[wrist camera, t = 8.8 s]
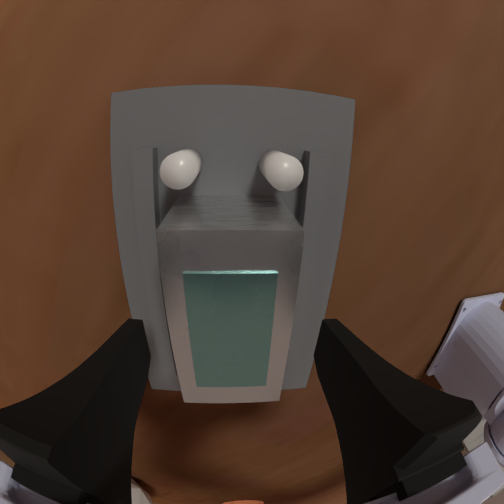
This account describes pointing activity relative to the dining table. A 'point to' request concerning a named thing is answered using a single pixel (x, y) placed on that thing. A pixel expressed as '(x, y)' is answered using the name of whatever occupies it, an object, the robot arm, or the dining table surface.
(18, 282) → the dining table surface
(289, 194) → the grooved peg plate
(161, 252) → the block
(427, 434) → the robot arm
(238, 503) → the potted cactus
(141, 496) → the geodesic sphere
